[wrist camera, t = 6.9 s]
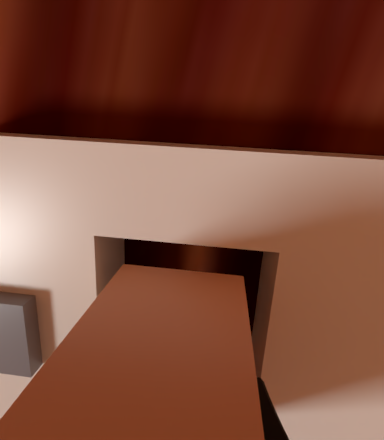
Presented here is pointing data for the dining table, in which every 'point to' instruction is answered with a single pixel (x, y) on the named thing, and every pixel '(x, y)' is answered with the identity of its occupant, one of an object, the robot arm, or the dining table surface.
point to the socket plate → (206, 236)
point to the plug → (149, 365)
